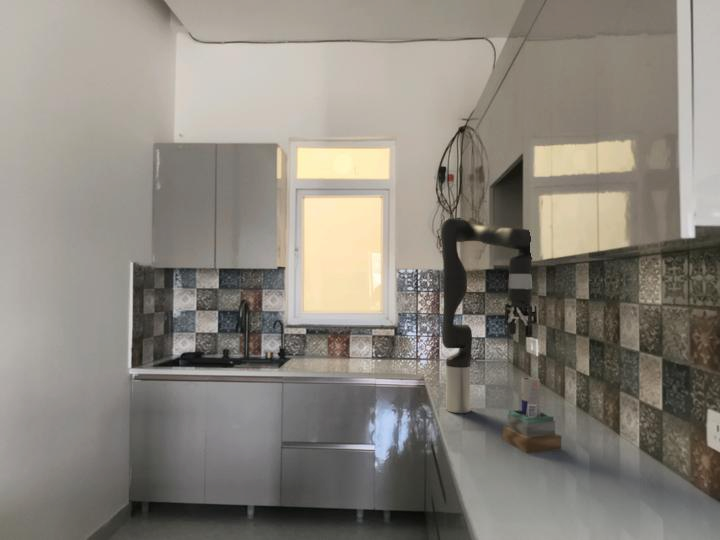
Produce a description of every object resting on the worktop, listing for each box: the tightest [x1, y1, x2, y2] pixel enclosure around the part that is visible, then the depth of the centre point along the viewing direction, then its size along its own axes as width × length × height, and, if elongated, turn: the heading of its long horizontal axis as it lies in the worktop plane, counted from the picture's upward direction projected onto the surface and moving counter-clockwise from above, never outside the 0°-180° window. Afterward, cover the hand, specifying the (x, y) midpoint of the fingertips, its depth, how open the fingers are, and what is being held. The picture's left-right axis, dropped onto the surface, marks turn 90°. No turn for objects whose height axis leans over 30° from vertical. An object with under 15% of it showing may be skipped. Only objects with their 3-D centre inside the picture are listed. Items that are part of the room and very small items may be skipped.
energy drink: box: [521, 376, 541, 418], centre depth 137 cm, size 5×5×12 cm
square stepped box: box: [501, 409, 562, 454], centre depth 136 cm, size 12×12×9 cm
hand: (520, 335), depth 150 cm, fingers open, 8 cm apart
